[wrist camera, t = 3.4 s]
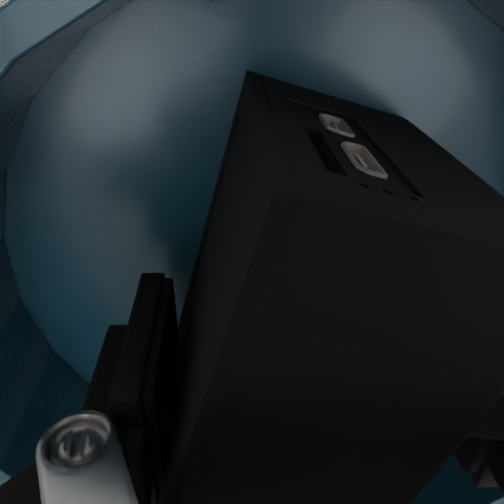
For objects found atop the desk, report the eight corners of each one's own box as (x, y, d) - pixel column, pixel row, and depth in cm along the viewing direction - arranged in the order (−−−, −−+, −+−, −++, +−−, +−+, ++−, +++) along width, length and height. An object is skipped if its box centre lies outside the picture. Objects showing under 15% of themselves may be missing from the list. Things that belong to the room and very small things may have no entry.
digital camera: (310, 399, 17) (359, 636, 11) (163, 376, 16) (127, 624, 10) (451, 129, 12) (692, 296, 6) (246, 68, 11) (277, 193, 5)
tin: (-96, 392, 16) (-200, 529, 12) (242, -565, 6) (273, -1388, 3) (299, 512, 21) (316, 633, 18) (794, 93, 12) (1071, 152, 8)
